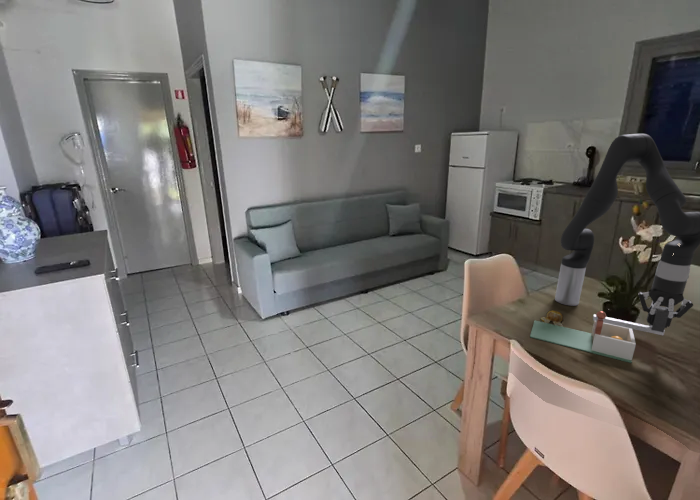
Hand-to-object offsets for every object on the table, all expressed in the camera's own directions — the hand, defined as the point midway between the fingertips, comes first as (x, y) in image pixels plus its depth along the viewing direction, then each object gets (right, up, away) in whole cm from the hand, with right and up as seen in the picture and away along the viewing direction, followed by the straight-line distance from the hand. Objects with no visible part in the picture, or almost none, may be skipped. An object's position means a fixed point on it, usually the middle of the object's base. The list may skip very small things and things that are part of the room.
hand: (657, 325), depth 116 cm
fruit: (-19, -4, +27) cm, 33 cm away
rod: (-6, -9, +7) cm, 13 cm away
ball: (-8, -7, +8) cm, 13 cm away
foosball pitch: (-17, -8, +14) cm, 23 cm away
